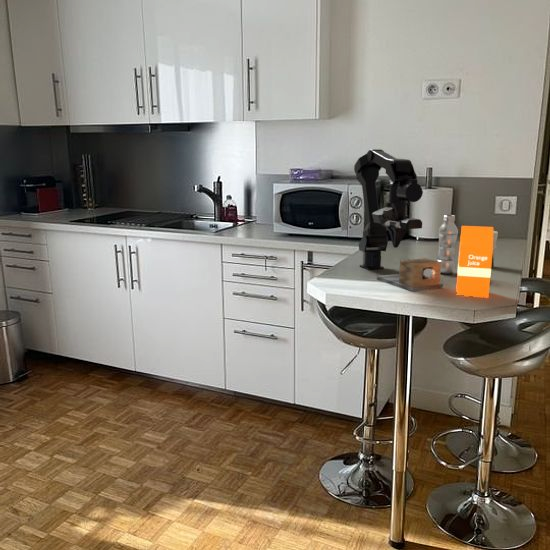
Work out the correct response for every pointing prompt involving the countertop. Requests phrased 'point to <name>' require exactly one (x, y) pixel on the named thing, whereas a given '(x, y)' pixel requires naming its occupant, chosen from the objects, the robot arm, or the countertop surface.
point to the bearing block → (414, 275)
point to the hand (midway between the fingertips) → (395, 247)
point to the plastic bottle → (447, 244)
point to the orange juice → (475, 261)
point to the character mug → (494, 244)
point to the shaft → (429, 273)
